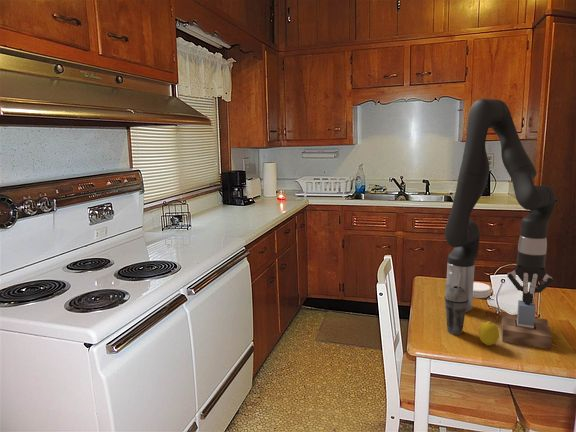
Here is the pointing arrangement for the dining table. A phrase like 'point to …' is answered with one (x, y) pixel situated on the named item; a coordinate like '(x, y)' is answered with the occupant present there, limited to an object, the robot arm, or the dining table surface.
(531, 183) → the robot arm
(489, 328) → the lemon
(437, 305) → the dining table surface
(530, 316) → the peg
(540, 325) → the board
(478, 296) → the white shallow cylinder
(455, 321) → the beverage cup
